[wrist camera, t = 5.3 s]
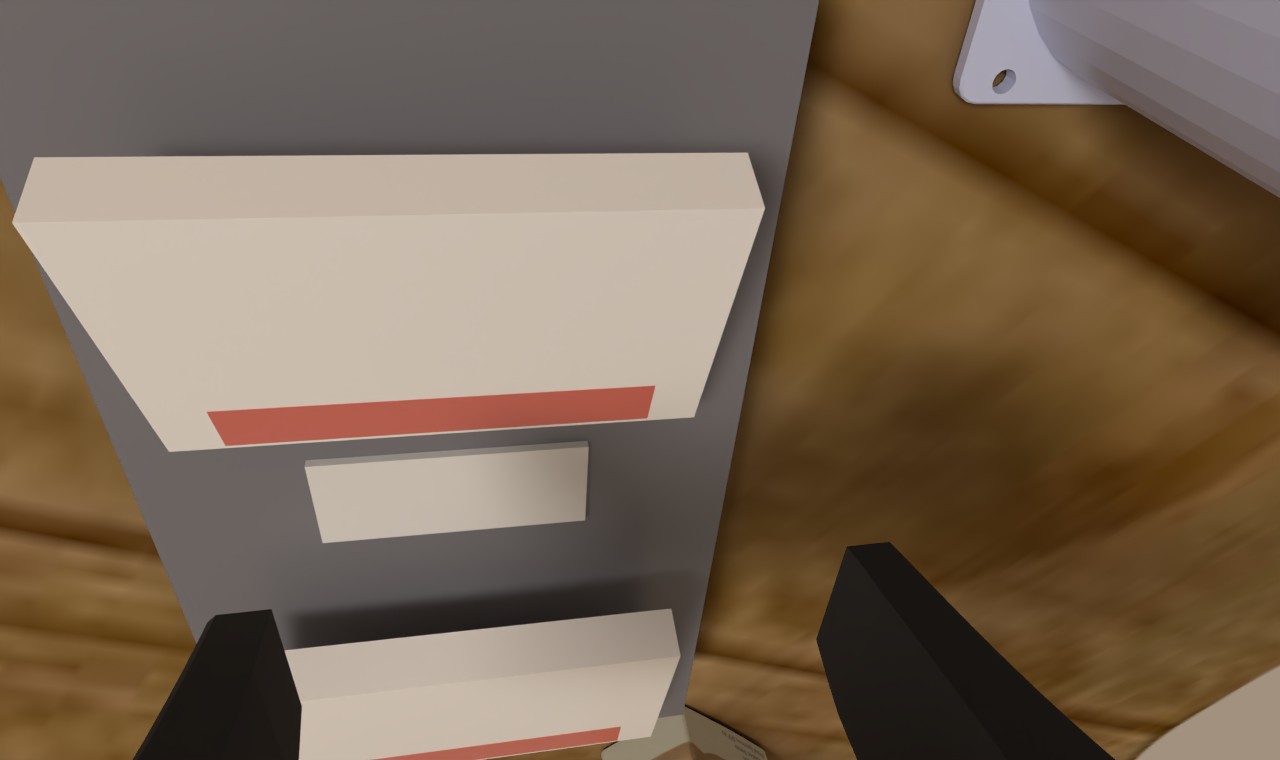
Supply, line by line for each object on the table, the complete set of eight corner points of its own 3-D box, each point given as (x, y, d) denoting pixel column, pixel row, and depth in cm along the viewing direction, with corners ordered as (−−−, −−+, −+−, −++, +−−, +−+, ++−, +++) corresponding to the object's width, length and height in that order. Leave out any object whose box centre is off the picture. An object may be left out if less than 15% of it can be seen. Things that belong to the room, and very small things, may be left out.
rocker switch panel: (768, -65, 16) (827, -21, 14) (663, 635, 30) (684, 720, 27) (-8, -98, 14) (-106, -53, 11) (266, 680, 27) (249, 778, 25)
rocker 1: (747, 151, 13) (765, 208, 13) (683, 369, 18) (694, 417, 18) (34, 157, 11) (12, 222, 11) (178, 396, 16) (168, 452, 16)
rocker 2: (671, 608, 21) (680, 656, 20) (644, 695, 25) (650, 736, 25) (235, 655, 19) (227, 710, 18) (290, 740, 24) (285, 786, 23)
